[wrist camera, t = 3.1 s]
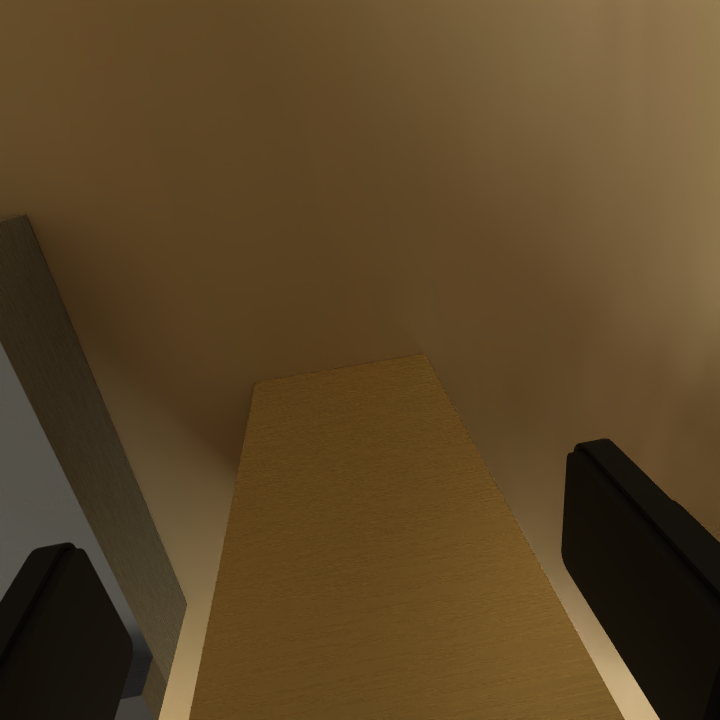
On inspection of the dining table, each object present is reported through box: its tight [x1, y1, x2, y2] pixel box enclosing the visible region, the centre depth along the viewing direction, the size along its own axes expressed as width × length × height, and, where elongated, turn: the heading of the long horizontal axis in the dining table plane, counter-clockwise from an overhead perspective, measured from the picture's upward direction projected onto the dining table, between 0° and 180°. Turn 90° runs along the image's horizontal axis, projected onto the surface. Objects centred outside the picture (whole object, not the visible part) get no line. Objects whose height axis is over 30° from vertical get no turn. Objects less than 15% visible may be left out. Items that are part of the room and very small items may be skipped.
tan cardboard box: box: [189, 354, 625, 720], centre depth 10 cm, size 4×4×9 cm
